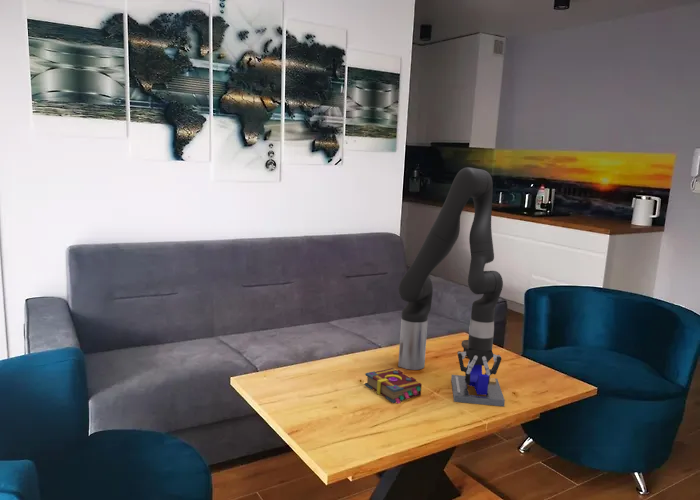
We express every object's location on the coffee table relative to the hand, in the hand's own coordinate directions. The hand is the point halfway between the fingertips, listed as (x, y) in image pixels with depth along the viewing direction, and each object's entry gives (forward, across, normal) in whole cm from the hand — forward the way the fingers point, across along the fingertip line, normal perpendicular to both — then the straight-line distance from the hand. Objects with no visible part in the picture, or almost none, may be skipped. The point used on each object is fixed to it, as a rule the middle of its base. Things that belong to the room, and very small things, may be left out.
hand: (476, 384), depth 175 cm
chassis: (+3, 0, 0) cm, 3 cm away
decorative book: (+3, -26, -5) cm, 27 cm away
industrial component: (+3, +1, +35) cm, 35 cm away
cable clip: (+1, 0, 0) cm, 1 cm away
